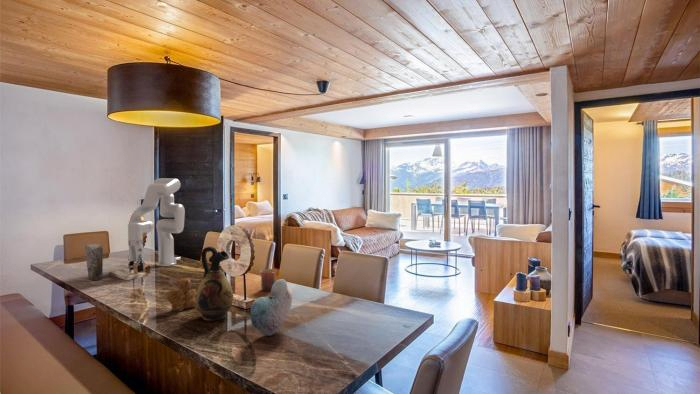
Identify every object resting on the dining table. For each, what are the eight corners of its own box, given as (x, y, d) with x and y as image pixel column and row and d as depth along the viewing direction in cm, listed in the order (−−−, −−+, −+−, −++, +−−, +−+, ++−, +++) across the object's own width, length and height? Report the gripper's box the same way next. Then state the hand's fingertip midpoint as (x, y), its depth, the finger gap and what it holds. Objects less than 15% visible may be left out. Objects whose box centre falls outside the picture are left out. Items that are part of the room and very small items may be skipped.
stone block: (84, 278, 216) (83, 244, 215) (97, 275, 221) (97, 243, 220) (92, 281, 208) (91, 247, 207) (106, 279, 213) (105, 245, 213)
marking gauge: (142, 271, 224) (141, 261, 224) (145, 272, 222) (145, 262, 222) (126, 274, 216) (126, 264, 216) (130, 275, 214) (129, 265, 214)
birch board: (127, 271, 232) (127, 268, 232) (146, 276, 220) (146, 272, 220) (109, 275, 222) (108, 271, 222) (126, 280, 211) (126, 276, 210)
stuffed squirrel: (202, 304, 170) (202, 276, 170) (181, 314, 156) (180, 284, 156) (184, 302, 173) (184, 275, 172) (162, 312, 159) (161, 283, 158)
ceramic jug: (240, 311, 160) (239, 245, 159) (220, 325, 145) (219, 251, 144) (206, 308, 164) (205, 243, 162) (183, 321, 149) (182, 249, 147)
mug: (272, 292, 188) (272, 273, 187) (256, 291, 189) (256, 272, 189) (281, 286, 199) (281, 267, 199) (266, 285, 201) (266, 267, 201)
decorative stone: (262, 347, 125) (261, 290, 125) (243, 341, 130) (242, 287, 129) (298, 326, 144) (298, 277, 143) (280, 322, 148) (280, 274, 147)
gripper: (149, 243, 217) (150, 271, 218) (134, 240, 226) (135, 267, 227) (136, 244, 211) (137, 273, 211) (121, 242, 220) (122, 269, 221)
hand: (136, 270), depth 219 cm, fingers open, 9 cm apart
